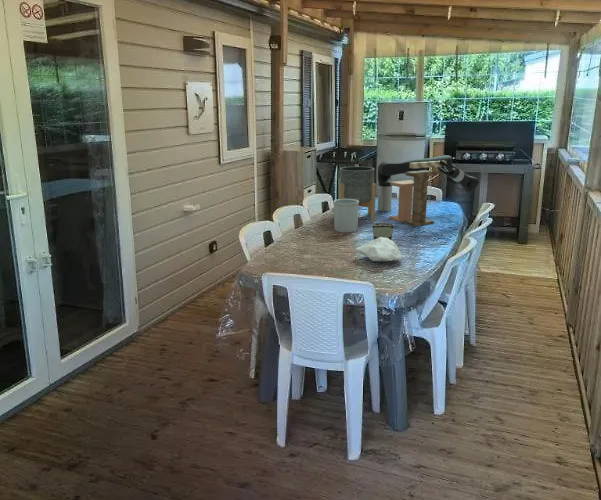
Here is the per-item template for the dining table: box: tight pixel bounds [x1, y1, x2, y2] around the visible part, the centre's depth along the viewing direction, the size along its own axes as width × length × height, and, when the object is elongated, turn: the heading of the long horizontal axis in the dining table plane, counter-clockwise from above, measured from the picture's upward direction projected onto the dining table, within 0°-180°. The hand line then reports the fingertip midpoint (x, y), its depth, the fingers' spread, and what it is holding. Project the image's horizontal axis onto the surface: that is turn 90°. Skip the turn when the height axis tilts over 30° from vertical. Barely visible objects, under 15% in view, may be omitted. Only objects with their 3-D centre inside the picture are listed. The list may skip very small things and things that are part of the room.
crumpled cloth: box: [354, 237, 403, 263], centre depth 269 cm, size 24×35×9 cm
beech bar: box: [409, 161, 447, 169], centre depth 336 cm, size 26×3×3 cm, turn 118°
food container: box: [371, 222, 396, 241], centre depth 301 cm, size 12×6×10 cm, turn 84°
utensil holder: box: [333, 198, 359, 233], centre depth 326 cm, size 15×15×18 cm
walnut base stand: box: [402, 169, 438, 227], centre depth 339 cm, size 16×10×32 cm, turn 118°
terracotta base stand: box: [388, 179, 414, 223], centre depth 352 cm, size 16×12×24 cm
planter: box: [338, 166, 377, 222], centre depth 358 cm, size 22×22×32 cm
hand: (437, 161), depth 339 cm, fingers closed on beech bar, 3 cm apart
